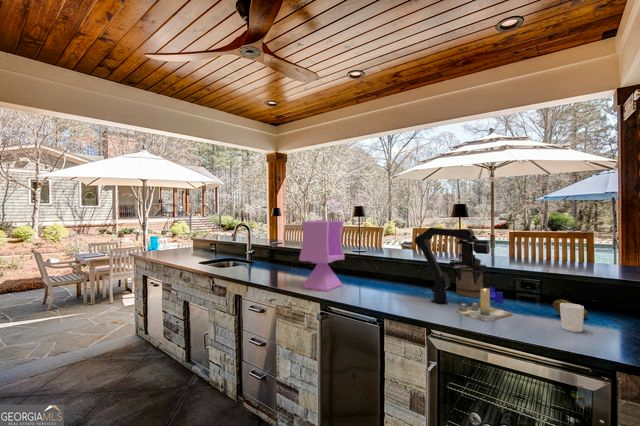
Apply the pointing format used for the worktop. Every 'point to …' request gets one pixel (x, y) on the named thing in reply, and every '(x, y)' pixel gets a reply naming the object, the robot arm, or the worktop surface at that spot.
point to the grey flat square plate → (484, 315)
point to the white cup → (572, 317)
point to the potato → (557, 302)
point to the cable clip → (496, 296)
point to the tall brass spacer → (485, 301)
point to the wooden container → (468, 283)
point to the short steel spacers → (474, 306)
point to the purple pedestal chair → (322, 253)
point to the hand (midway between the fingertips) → (467, 282)
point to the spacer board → (492, 310)
